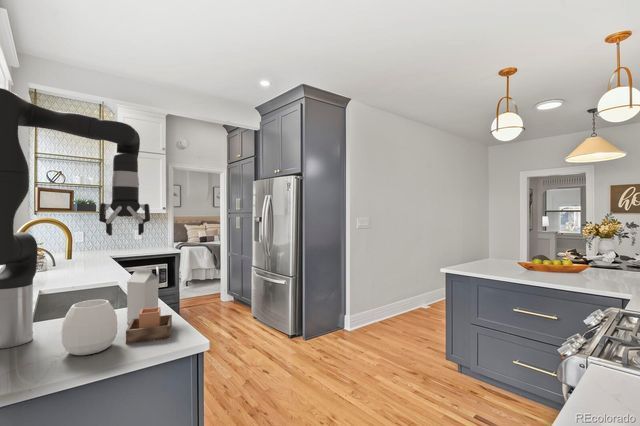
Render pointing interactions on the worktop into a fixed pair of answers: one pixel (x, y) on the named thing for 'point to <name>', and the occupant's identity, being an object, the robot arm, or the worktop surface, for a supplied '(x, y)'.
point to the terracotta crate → (149, 317)
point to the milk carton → (141, 292)
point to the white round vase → (89, 327)
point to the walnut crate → (149, 331)
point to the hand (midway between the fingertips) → (125, 235)
